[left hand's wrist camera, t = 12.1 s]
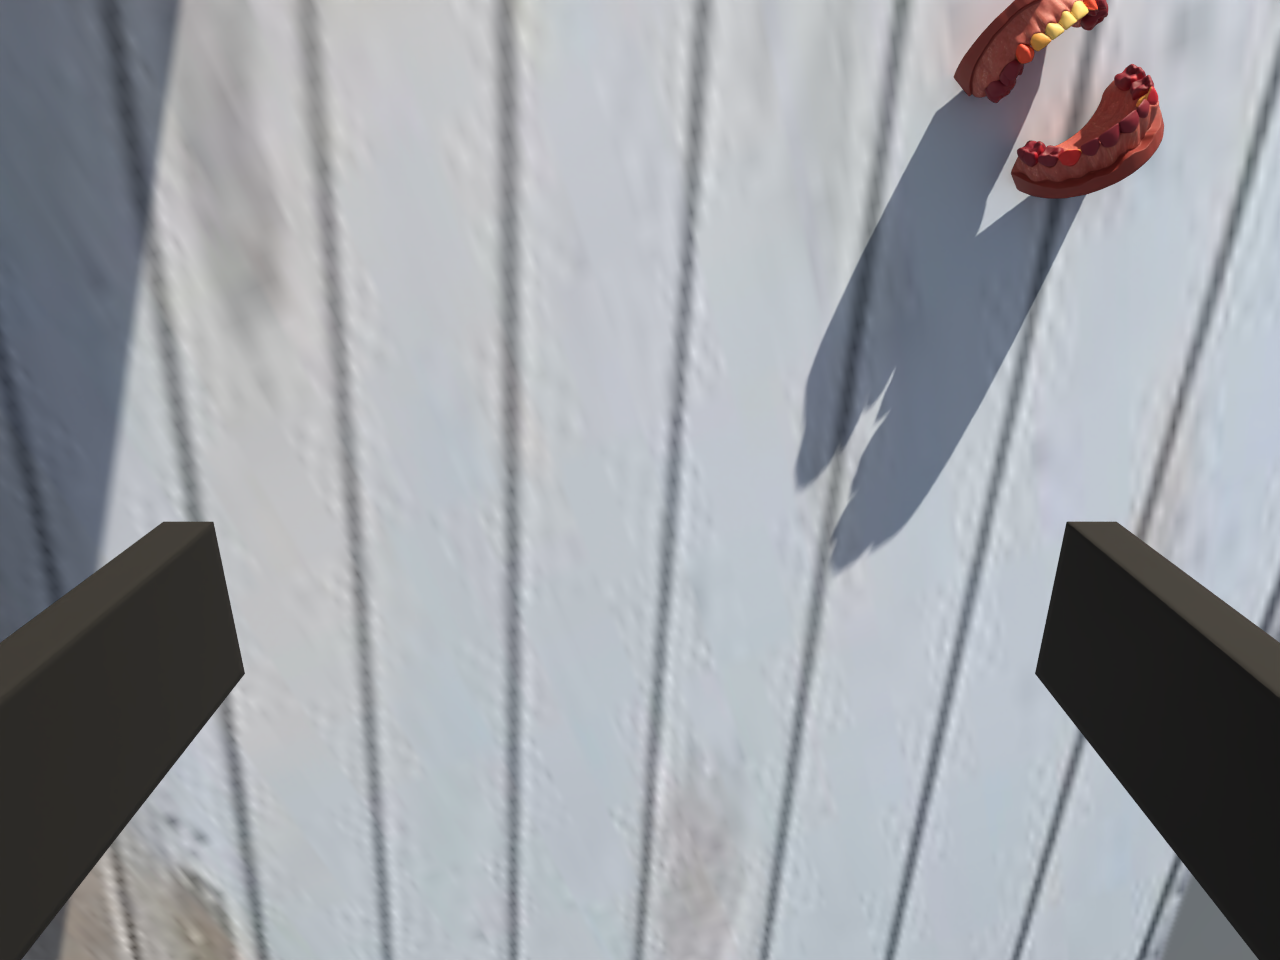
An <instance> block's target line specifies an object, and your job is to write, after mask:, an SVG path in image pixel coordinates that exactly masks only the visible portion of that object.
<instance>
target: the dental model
mask: <svg viewBox="0 0 1280 960" xmlns="http://www.w3.org/2000/svg"><path fill="white" fill-rule="evenodd" d="M1107 15H1108V4H1107V2H1106V0H1015V1H1014V2H1013V3H1012V4H1011V5H1010V6H1009V7H1007V8H1006V9H1005V10H1004V11H1003V12H1002V13H1001V14H1000V15H999V16H998V17H997V18H996V19H995V20H994V21H993V22H992V23H991V24H990V25H989V26H988V27H987V28H986V29H985V31H984V32H983V33H982V34H981V35H980V36H979V37H978V39H977V40H976V41H975V42H974V44H973V45H972V46H971V48H970V49H969V50H968V52H967V53H966V54H965V56H964V57H963V59H962V61H961V62H960V64H959V66H958V68H957V70H956V72H955V75H954V78H955V80H956V81H957V82H958V84H959V85H960V86H961V87H962V89H963V90H964V91H965V92H966V94H967V95H968V96H970V95H974V96H975V97H979V98H980V97H985V96H987V97H988V99H989V100H990V101H992V102H994V103H998V101H999V100H1000V99H1001V98H1003V97H1005V96H1007V95H1008V94H1009V93H1010V91H1011V90H1012V89H1013V88H1014V86H1015V84H1016V78H1017V76H1018V75H1021V74H1022V72H1023V67H1024V64H1025V63H1028V62H1031V61H1032V59H1033V57H1034V50H1036V51H1040V50H1041V49H1043V48H1044V47H1045V46H1047V45H1048V44H1049V43H1050V42H1051V40H1054V39H1055V38H1056V37H1058V36H1059V35H1060V34H1062V33H1063V32H1064V29H1065V30H1067V29H1068V28H1069V27H1071V26H1072V27H1082V28H1083V29H1085V30H1092V29H1093V28H1094V26H1095V25H1097V24H1098V23H1100V22H1102V21H1103V19H1104V18H1105V17H1107ZM1058 23H1059V24H1060V25H1061V26H1062V27H1063V28H1064V29H1063V28H1062V27H1061V26H1060V25H1059V24H1058ZM1045 33H1046V34H1045ZM1030 46H1032V47H1030ZM1163 132H1164V123H1163V119H1162V114H1161V111H1160V108H1159V101H1158V95H1157V92H1156V90H1155V88H1154V83H1153V81H1152V79H1151V77H1150V75H1147V76H1146V74H1145V72H1144V71H1143V70H1142V68H1141V67H1137V66H1136V65H1134V64H1131V65H1129V66H1128V67H1126V69H1125V70H1124V71H1123V72H1122V73H1120V74H1117V75H1116V76H1115V78H1114V81H1113V82H1112V83H1111V84H1110V85H1109V86H1108V87H1107V88H1106V90H1105V91H1104V93H1103V95H1102V99H1101V102H1100V104H1099V106H1098V108H1097V110H1096V111H1095V113H1094V115H1093V116H1092V118H1091V119H1090V120H1089V121H1088V123H1087V124H1086V125H1085V126H1084V127H1083V128H1082V129H1081V130H1080V131H1079V132H1078V133H1076V134H1075V135H1074V136H1072V137H1071V138H1070V139H1068V140H1067V141H1065V142H1063V143H1061V144H1059V145H1057V146H1051V145H1050V146H1047V147H1046V146H1045V145H1044V143H1042V142H1040V141H1038V142H1036V141H1028V142H1027V143H1026V145H1025V146H1024V147H1022V148H1019V149H1018V150H1017V154H1018V158H1017V160H1016V162H1015V164H1014V166H1013V169H1012V171H1011V175H1012V177H1013V180H1014V183H1015V185H1016V188H1017V189H1018V190H1019V191H1021V192H1024V193H1026V194H1029V195H1032V196H1035V197H1041V198H1069V197H1075V196H1081V195H1086V194H1089V193H1092V192H1095V191H1098V190H1101V189H1103V188H1106V187H1108V186H1110V185H1113V184H1115V183H1117V182H1119V181H1121V180H1122V179H1124V178H1126V177H1127V176H1129V175H1131V174H1132V173H1134V172H1135V171H1136V170H1138V169H1139V168H1140V167H1141V166H1142V165H1144V164H1145V163H1146V162H1147V161H1148V160H1149V159H1150V158H1151V156H1152V155H1153V154H1154V152H1155V151H1156V150H1157V148H1158V147H1159V145H1160V143H1161V141H1162V138H1163Z"/></svg>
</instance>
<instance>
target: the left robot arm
mask: <svg viewBox="0 0 1280 960" xmlns="http://www.w3.org/2000/svg"><path fill="white" fill-rule="evenodd" d="M244 674H245V672H244V667H243V663H242V658H241V653H240V648H239V643H238V639H237V634H236V629H235V624H234V619H233V614H232V610H231V605H230V600H229V595H228V590H227V585H226V581H225V576H224V571H223V566H222V561H221V557H220V552H219V547H218V542H217V537H216V532H215V528H214V523H213V522H163V523H161V524H160V525H159V526H157V527H156V528H154V529H153V530H152V531H150V532H149V533H148V534H146V535H145V536H144V537H142V538H141V539H140V540H138V541H137V542H136V543H134V544H133V545H132V546H130V547H129V548H128V549H126V550H125V551H123V552H122V553H121V554H119V555H118V556H117V557H115V558H114V559H113V560H111V561H110V562H109V563H107V564H106V565H105V566H103V567H102V568H101V569H99V570H98V571H97V572H95V573H94V574H92V575H91V576H90V577H88V578H87V579H86V580H84V581H83V582H82V583H80V584H79V585H78V586H76V587H75V588H74V589H72V590H71V591H70V592H68V593H67V594H66V595H64V596H63V597H61V598H60V599H59V600H57V601H56V602H55V603H53V604H52V605H51V606H49V607H48V608H47V609H45V610H44V611H43V612H41V613H40V614H39V615H37V616H36V617H35V618H33V619H32V620H31V621H29V622H28V623H26V624H25V625H24V626H22V627H21V628H20V629H18V630H17V631H16V632H14V633H13V634H12V635H10V636H9V637H8V638H6V639H5V640H4V641H2V642H1V643H0V960H21V959H22V958H23V957H24V955H25V954H26V953H27V952H28V950H29V949H30V948H31V946H32V945H33V944H34V943H35V941H36V940H37V939H38V937H39V936H40V935H41V934H42V932H43V931H44V930H45V929H46V927H47V926H48V925H49V923H50V922H51V921H52V920H53V918H54V917H55V916H56V914H57V913H58V912H59V911H60V909H61V908H62V907H63V905H64V904H65V903H66V902H67V900H68V899H69V898H70V897H71V895H72V894H73V893H74V891H75V890H76V889H77V888H78V886H79V885H80V884H81V882H82V881H83V880H84V879H85V877H86V876H87V875H88V874H89V872H90V871H91V870H92V868H93V867H94V866H95V865H96V863H97V862H98V861H99V859H100V858H101V857H102V856H103V854H104V853H105V852H106V851H107V849H108V848H109V847H110V845H111V844H112V843H113V842H114V840H115V839H116V838H117V836H118V835H119V834H120V833H121V831H122V830H123V829H124V827H125V826H126V825H127V824H128V822H129V821H130V820H131V819H132V817H133V816H134V815H135V813H136V812H137V811H138V810H139V808H140V807H141V806H142V804H143V803H144V802H145V801H146V799H147V798H148V797H149V796H150V794H151V793H152V792H153V790H154V789H155V788H156V787H157V785H158V784H159V783H160V781H161V780H162V779H163V778H164V776H165V775H166V774H167V772H168V771H169V770H170V769H171V767H172V766H173V765H174V764H175V762H176V761H177V760H178V758H179V757H180V756H181V755H182V753H183V752H184V751H185V749H186V748H187V747H188V746H189V744H190V743H191V742H192V741H193V739H194V738H195V737H196V735H197V734H198V733H199V732H200V730H201V729H202V728H203V726H204V725H205V724H206V723H207V721H208V720H209V719H210V717H211V716H212V715H213V714H214V712H215V711H216V710H217V709H218V707H219V706H220V705H221V703H222V702H223V701H224V700H225V698H226V697H227V696H228V694H229V693H230V692H231V691H232V689H233V688H234V687H235V686H236V684H237V683H238V682H239V680H240V679H241V678H242V677H243V675H244ZM1035 674H1036V675H1037V677H1038V678H1039V679H1040V680H1041V682H1042V683H1043V684H1044V686H1045V687H1046V688H1047V689H1048V691H1049V692H1050V693H1051V694H1052V696H1053V697H1054V698H1055V700H1056V701H1057V702H1058V703H1059V705H1060V706H1061V707H1062V709H1063V710H1064V711H1065V712H1066V714H1067V715H1068V716H1069V717H1070V719H1071V720H1072V721H1073V723H1074V724H1075V725H1076V726H1077V728H1078V729H1079V730H1080V732H1081V733H1082V734H1083V735H1084V737H1085V738H1086V739H1087V741H1088V742H1089V743H1090V744H1091V746H1092V747H1093V748H1094V749H1095V751H1096V752H1097V753H1098V755H1099V756H1100V757H1101V758H1102V760H1103V761H1104V762H1105V764H1106V765H1107V766H1108V767H1109V769H1110V770H1111V771H1112V772H1113V774H1114V775H1115V776H1116V778H1117V779H1118V780H1119V781H1120V783H1121V784H1122V785H1123V787H1124V788H1125V789H1126V790H1127V792H1128V793H1129V794H1130V796H1131V797H1132V798H1133V799H1134V801H1135V802H1136V803H1137V804H1138V806H1139V807H1140V808H1141V810H1142V811H1143V812H1144V813H1145V815H1146V816H1147V817H1148V819H1149V820H1150V821H1151V822H1152V824H1153V825H1154V826H1155V827H1156V829H1157V830H1158V831H1159V833H1160V834H1161V835H1162V836H1163V838H1164V839H1165V840H1166V842H1167V843H1168V844H1169V845H1170V847H1171V848H1172V849H1173V851H1174V852H1175V853H1176V854H1177V856H1178V857H1179V858H1180V859H1181V861H1182V862H1183V863H1184V865H1185V866H1186V867H1187V868H1188V870H1189V871H1190V872H1191V874H1192V875H1193V876H1194V877H1195V879H1196V880H1197V881H1198V882H1199V884H1200V885H1201V886H1202V888H1203V889H1204V890H1205V891H1206V893H1207V894H1208V895H1209V897H1210V898H1211V899H1212V900H1213V902H1214V903H1215V904H1216V906H1217V907H1218V908H1219V909H1220V911H1221V912H1222V913H1223V914H1224V916H1225V917H1226V918H1227V920H1228V921H1229V922H1230V923H1231V925H1232V926H1233V927H1234V929H1235V930H1236V931H1237V932H1238V934H1239V935H1240V936H1241V937H1242V939H1243V940H1244V941H1245V943H1246V944H1247V945H1248V946H1249V948H1250V949H1251V950H1252V951H1253V953H1254V954H1255V955H1256V957H1257V958H1258V959H1259V960H1280V643H1279V642H1278V641H1276V640H1275V639H1274V638H1272V637H1271V636H1270V635H1268V634H1267V633H1266V632H1264V631H1263V630H1262V629H1260V628H1259V627H1258V626H1256V625H1255V624H1254V623H1252V622H1251V621H1249V620H1248V619H1247V618H1245V617H1244V616H1243V615H1241V614H1240V613H1239V612H1237V611H1236V610H1235V609H1233V608H1232V607H1231V606H1229V605H1228V604H1227V603H1225V602H1224V601H1223V600H1221V599H1220V598H1219V597H1217V596H1216V595H1214V594H1213V593H1212V592H1210V591H1209V590H1208V589H1206V588H1205V587H1204V586H1202V585H1201V584H1200V583H1198V582H1197V581H1196V580H1194V579H1193V578H1192V577H1190V576H1189V575H1188V574H1186V573H1185V572H1183V571H1182V570H1181V569H1179V568H1178V567H1177V566H1175V565H1174V564H1173V563H1171V562H1170V561H1169V560H1167V559H1166V558H1165V557H1163V556H1162V555H1161V554H1159V553H1158V552H1157V551H1155V550H1154V549H1152V548H1151V547H1150V546H1148V545H1147V544H1146V543H1144V542H1143V541H1142V540H1140V539H1139V538H1138V537H1136V536H1135V535H1134V534H1132V533H1131V532H1130V531H1128V530H1127V529H1126V528H1124V527H1123V526H1121V525H1120V524H1119V523H1117V522H1067V523H1066V528H1065V532H1064V537H1063V542H1062V547H1061V552H1060V557H1059V561H1058V566H1057V571H1056V576H1055V581H1054V585H1053V590H1052V595H1051V600H1050V605H1049V610H1048V614H1047V619H1046V624H1045V629H1044V634H1043V639H1042V643H1041V648H1040V653H1039V658H1038V663H1037V667H1036V672H1035Z"/></svg>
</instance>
